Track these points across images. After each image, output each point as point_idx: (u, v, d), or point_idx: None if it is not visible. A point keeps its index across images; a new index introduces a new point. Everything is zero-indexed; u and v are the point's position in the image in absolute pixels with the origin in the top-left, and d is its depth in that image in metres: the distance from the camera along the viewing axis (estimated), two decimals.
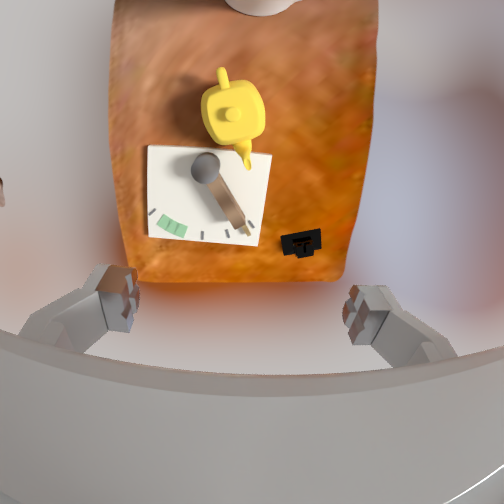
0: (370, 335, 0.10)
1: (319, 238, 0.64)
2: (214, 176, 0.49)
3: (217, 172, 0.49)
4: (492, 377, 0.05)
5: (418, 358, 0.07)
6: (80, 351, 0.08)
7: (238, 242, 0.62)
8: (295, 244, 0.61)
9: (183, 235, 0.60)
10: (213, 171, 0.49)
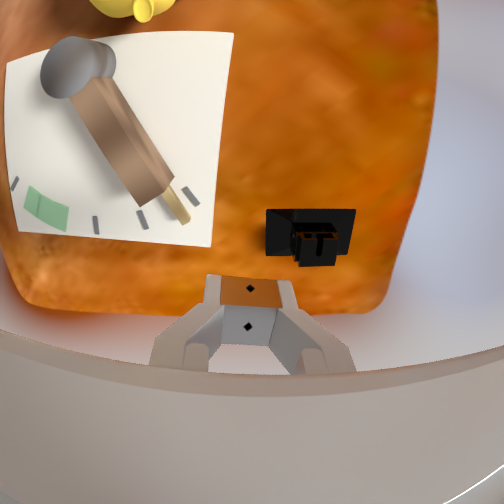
0: (263, 335, 0.09)
1: (347, 231, 0.29)
2: (82, 74, 0.14)
3: (89, 64, 0.14)
4: (492, 377, 0.05)
5: (299, 367, 0.07)
6: None
7: (168, 239, 0.27)
8: (299, 233, 0.26)
9: (64, 226, 0.25)
10: (81, 64, 0.14)
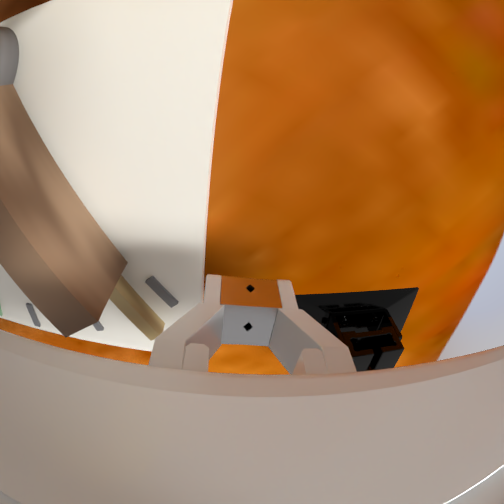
0: (263, 335, 0.09)
1: (404, 315, 0.18)
2: None
3: None
4: (492, 377, 0.05)
5: (299, 367, 0.07)
6: None
7: (134, 344, 0.16)
8: (345, 340, 0.15)
9: None
10: None
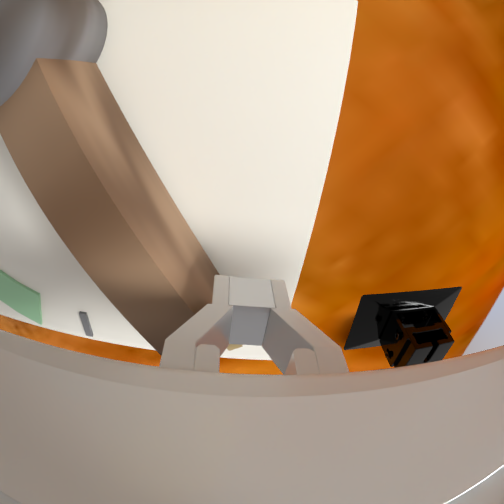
0: (256, 335, 0.09)
1: (445, 313, 0.19)
2: (14, 53, 0.04)
3: (32, 25, 0.04)
4: (492, 376, 0.05)
5: (291, 367, 0.07)
6: None
7: None
8: (408, 335, 0.16)
9: (38, 317, 0.15)
10: (15, 27, 0.03)
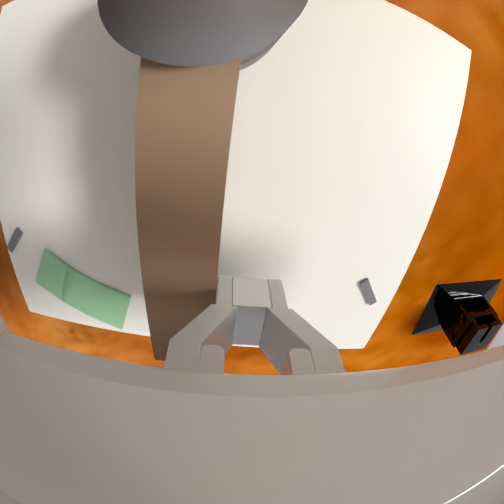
0: (253, 334, 0.09)
1: (487, 302, 0.20)
2: (231, 34, 0.05)
3: (271, 27, 0.05)
4: (492, 377, 0.05)
5: (287, 367, 0.07)
6: None
7: None
8: (470, 318, 0.16)
9: (120, 321, 0.16)
10: (251, 5, 0.04)
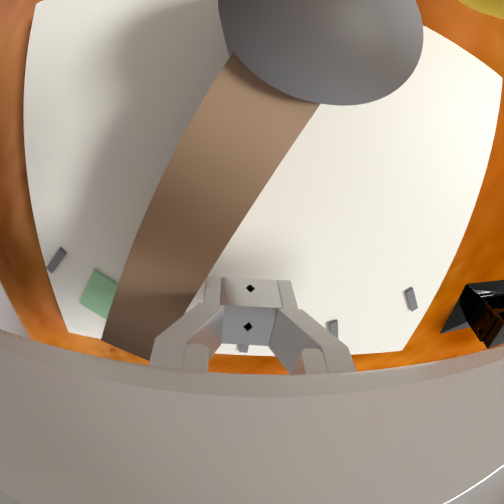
0: (263, 335, 0.09)
1: None
2: (328, 81, 0.05)
3: (363, 93, 0.05)
4: (492, 377, 0.05)
5: (299, 367, 0.07)
6: None
7: (357, 349, 0.18)
8: (496, 314, 0.16)
9: None
10: (357, 64, 0.05)
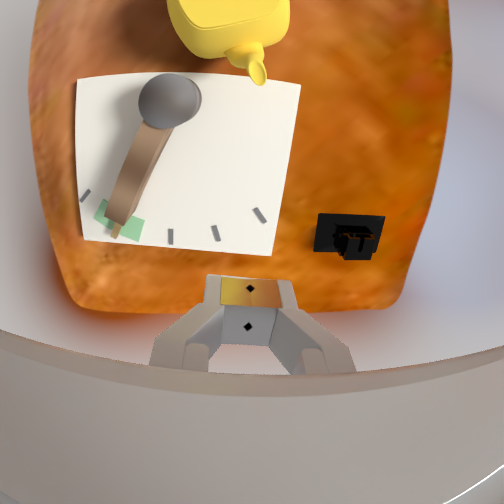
0: (263, 335, 0.09)
1: (377, 234, 0.36)
2: (166, 122, 0.22)
3: (175, 123, 0.22)
4: (492, 377, 0.05)
5: (299, 367, 0.07)
6: None
7: (236, 249, 0.34)
8: (345, 233, 0.32)
9: (138, 237, 0.32)
10: (173, 115, 0.21)
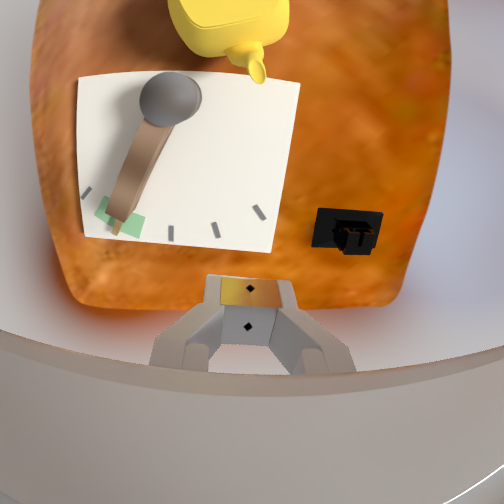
0: (263, 335, 0.09)
1: (377, 229, 0.36)
2: (166, 120, 0.22)
3: (176, 121, 0.22)
4: (492, 377, 0.05)
5: (299, 367, 0.07)
6: None
7: (236, 246, 0.34)
8: (345, 228, 0.32)
9: (138, 233, 0.33)
10: (174, 113, 0.22)
